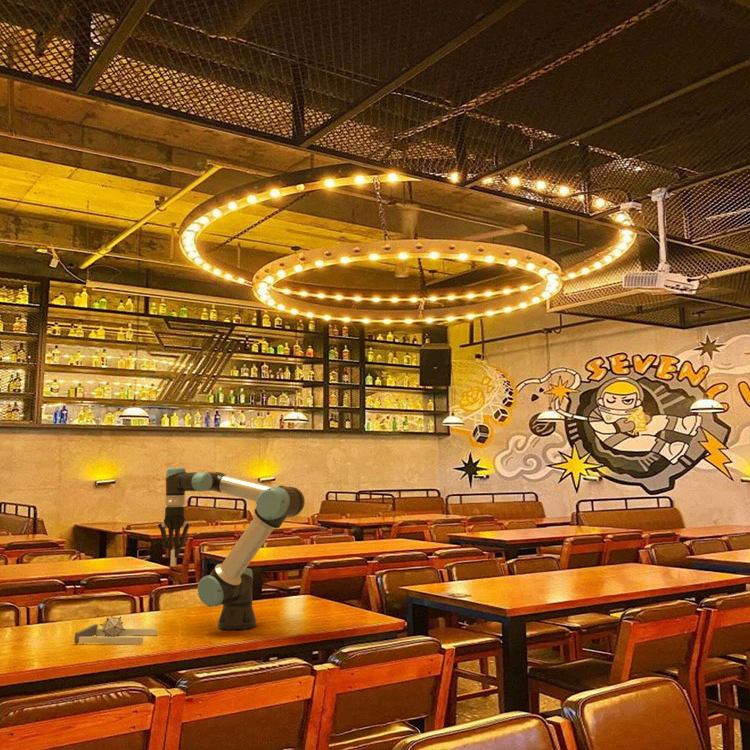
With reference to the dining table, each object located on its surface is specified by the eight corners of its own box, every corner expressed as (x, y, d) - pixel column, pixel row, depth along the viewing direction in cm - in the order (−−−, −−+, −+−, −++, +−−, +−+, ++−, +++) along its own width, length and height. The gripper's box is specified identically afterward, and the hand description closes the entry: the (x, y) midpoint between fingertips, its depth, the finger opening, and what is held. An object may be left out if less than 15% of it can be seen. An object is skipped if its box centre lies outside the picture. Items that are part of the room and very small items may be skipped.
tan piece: (157, 635, 282) (157, 624, 283) (141, 644, 266) (142, 633, 267) (92, 635, 283) (93, 624, 284) (73, 644, 267) (74, 633, 268)
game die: (121, 647, 276) (94, 641, 276) (130, 629, 283) (104, 624, 284) (121, 630, 272) (94, 624, 272) (130, 612, 279) (104, 607, 279)
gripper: (155, 506, 296) (154, 567, 293) (188, 506, 295) (186, 567, 292) (162, 505, 303) (160, 564, 300) (193, 505, 303) (192, 564, 299)
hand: (173, 565), depth 296 cm, fingers closed
